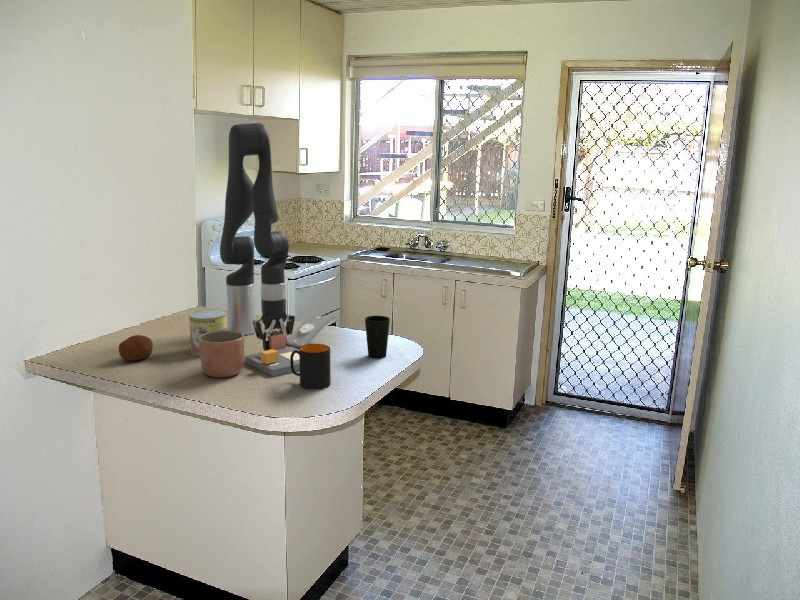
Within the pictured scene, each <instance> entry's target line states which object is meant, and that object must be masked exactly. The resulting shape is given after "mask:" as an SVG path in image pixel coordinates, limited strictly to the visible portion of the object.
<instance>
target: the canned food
mask: <svg viewBox="0 0 800 600" xmlns="http://www.w3.org/2000/svg"><path fill="white" fill-rule="evenodd" d="M188 316H189V319H188V320H189V334H190V352H191V354H192V355H194V356H199V357H200V350H199V339H198V338H199V336H201V335H202V334H205V333H209V332H214V331H228V318H227V311H225V310H221V309H201V310H196V311H192V312H190V313H189V314H188Z"/></svg>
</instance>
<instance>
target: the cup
mask: <svg viewBox="0 0 800 600" xmlns="http://www.w3.org/2000/svg"><path fill="white" fill-rule="evenodd" d="M390 321H391V318H390V317H388V316H385V315H370V316H366V317H365V318H364V325H365V333H366V345H367V346H366V347H367V355H368V358H370V359H375V360H378V359H379V360H380V359H385V358H387V351H388V341H389V332H390V331H389V330H390V323H391V322H390Z"/></svg>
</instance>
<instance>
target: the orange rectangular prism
mask: <svg viewBox="0 0 800 600" xmlns="http://www.w3.org/2000/svg"><path fill="white" fill-rule="evenodd" d="M260 353H261V362H263V363H265V364H270V363H274V362H279V359H278V351H276V350H274V349H272V350H267V351H264V350H263V351H260Z"/></svg>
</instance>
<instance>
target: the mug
mask: <svg viewBox="0 0 800 600" xmlns="http://www.w3.org/2000/svg"><path fill="white" fill-rule="evenodd" d="M298 350H299V351H298ZM298 350H294V351H293V352H292V353H291V356H290V365H291V370H292V372H291V373H292V374H293V375H294V376H297V377H299V385H300V388H302V389H304V390H308V389H312V390H311V391H317V390H316V389H320V390H324V388H325V389H327V388H329V387H330V386H331V382H332V381H331V378H332V377H331V372H332V371H331V347H330V346H329V345H327V344H323V343H308V344H307V345H304V346H301V347H300V348H298ZM295 353H298V354H299V362H300V370H299V372H297V371H295V370H294V367H293V356H294V354H295ZM313 389H314V390H313Z"/></svg>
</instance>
